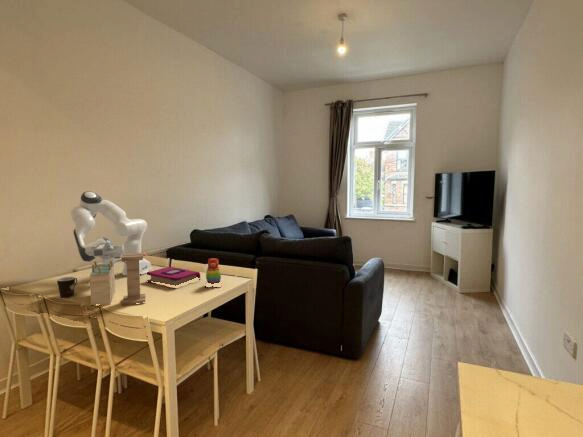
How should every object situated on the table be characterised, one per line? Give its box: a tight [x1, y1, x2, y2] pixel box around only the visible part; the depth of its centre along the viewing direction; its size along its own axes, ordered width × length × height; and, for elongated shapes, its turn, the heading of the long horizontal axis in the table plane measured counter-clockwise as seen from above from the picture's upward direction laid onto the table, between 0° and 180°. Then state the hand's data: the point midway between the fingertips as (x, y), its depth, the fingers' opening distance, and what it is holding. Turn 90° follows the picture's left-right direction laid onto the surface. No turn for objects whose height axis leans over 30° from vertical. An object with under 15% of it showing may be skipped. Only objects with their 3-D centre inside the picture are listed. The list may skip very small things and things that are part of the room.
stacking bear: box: [205, 257, 222, 284], centre depth 214 cm, size 11×10×18 cm
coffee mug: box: [56, 276, 78, 299], centre depth 192 cm, size 12×9×10 cm
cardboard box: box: [89, 260, 116, 306], centre depth 187 cm, size 22×9×20 cm, turn 22°
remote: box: [94, 243, 108, 256], centre depth 187 cm, size 22×4×3 cm, turn 22°
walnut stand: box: [121, 252, 146, 307], centre depth 183 cm, size 11×11×26 cm
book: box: [146, 266, 201, 286], centre depth 222 cm, size 21×28×8 cm
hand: (103, 245), depth 194 cm, fingers closed on remote, 4 cm apart
